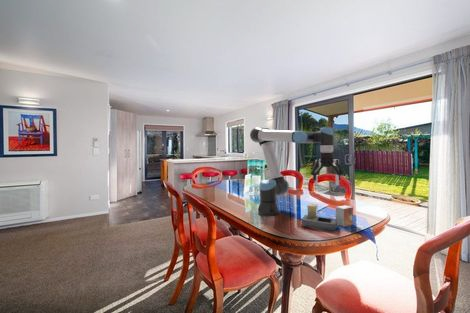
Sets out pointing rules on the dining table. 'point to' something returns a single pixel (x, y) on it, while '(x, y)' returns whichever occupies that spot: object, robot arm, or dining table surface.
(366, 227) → the dining table surface
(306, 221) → the grey square hole block
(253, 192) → the dining table surface
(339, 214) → the small box
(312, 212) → the beige square peg
